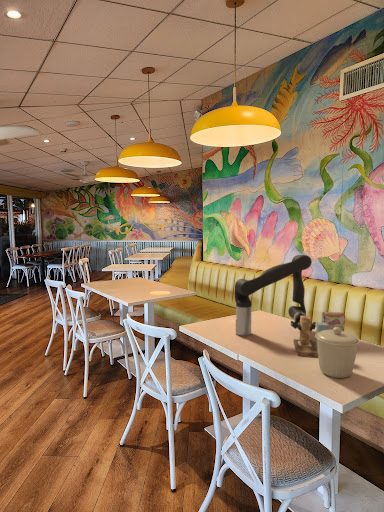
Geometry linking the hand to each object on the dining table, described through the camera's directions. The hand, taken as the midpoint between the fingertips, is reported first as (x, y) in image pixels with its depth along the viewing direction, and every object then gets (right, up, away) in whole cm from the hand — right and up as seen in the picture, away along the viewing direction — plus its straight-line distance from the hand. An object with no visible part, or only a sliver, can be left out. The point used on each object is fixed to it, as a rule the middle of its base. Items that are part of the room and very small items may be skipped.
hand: (305, 329), depth 174 cm
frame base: (+3, -11, 0) cm, 11 cm away
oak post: (0, -8, +3) cm, 8 cm away
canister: (+4, -14, -26) cm, 30 cm away
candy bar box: (+19, -10, +13) cm, 25 cm away
